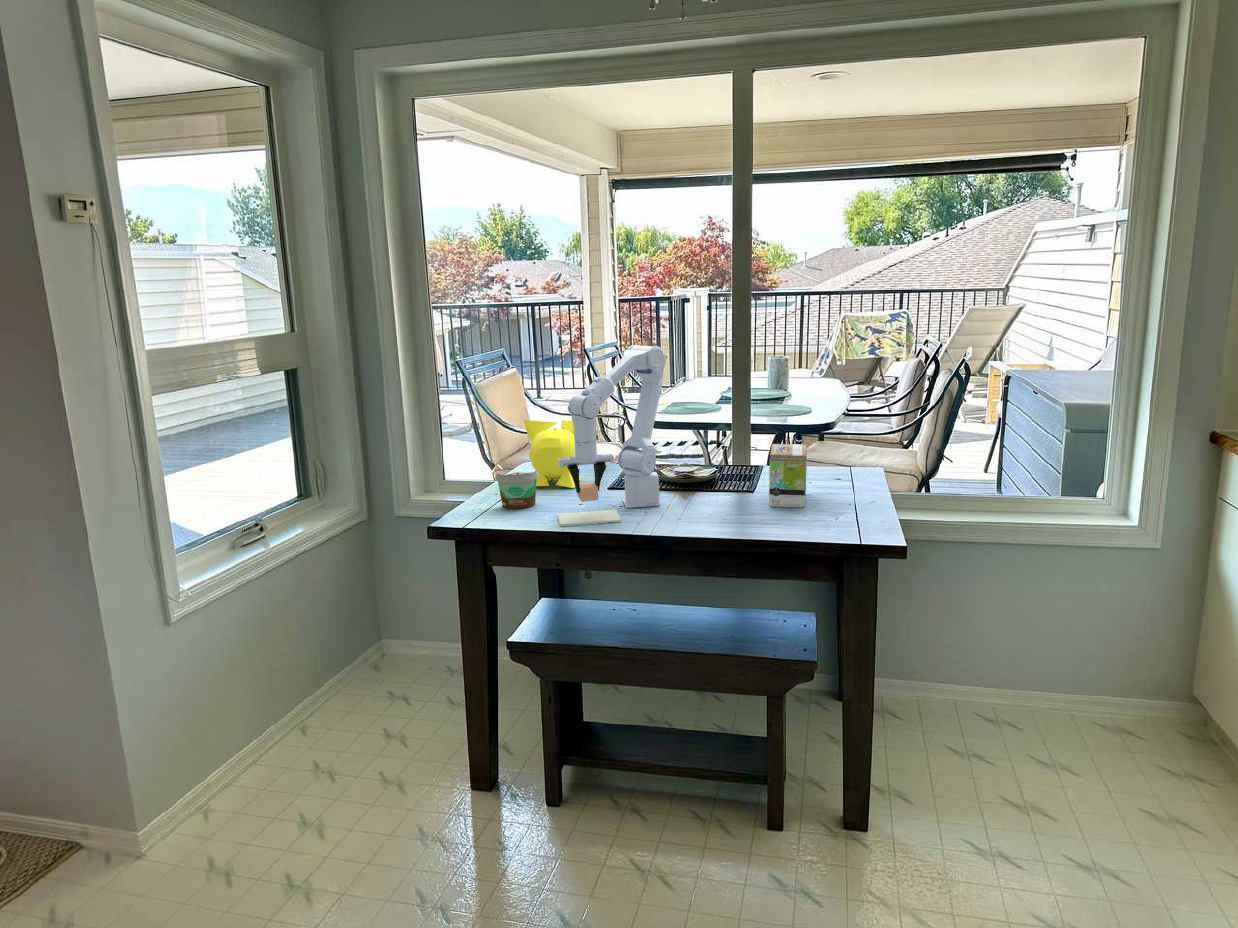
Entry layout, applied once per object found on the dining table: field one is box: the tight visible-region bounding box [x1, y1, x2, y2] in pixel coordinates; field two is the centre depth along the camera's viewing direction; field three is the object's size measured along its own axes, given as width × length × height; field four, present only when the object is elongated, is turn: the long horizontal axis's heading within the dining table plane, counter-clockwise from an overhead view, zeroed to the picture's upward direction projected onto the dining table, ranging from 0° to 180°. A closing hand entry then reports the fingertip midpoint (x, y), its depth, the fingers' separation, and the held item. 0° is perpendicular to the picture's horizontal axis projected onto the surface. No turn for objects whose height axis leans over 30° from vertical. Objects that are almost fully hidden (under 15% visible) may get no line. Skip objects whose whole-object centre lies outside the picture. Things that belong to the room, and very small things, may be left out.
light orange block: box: [576, 481, 599, 503], centre depth 232 cm, size 6×4×4 cm
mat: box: [557, 509, 622, 528], centre depth 233 cm, size 16×10×1 cm, turn 97°
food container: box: [494, 469, 539, 511], centre depth 245 cm, size 12×6×10 cm, turn 101°
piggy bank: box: [523, 419, 582, 489], centre depth 271 cm, size 20×20×19 cm
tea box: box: [768, 443, 808, 508], centre depth 242 cm, size 15×10×15 cm, turn 168°
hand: (587, 491), depth 231 cm, fingers closed on light orange block, 4 cm apart
